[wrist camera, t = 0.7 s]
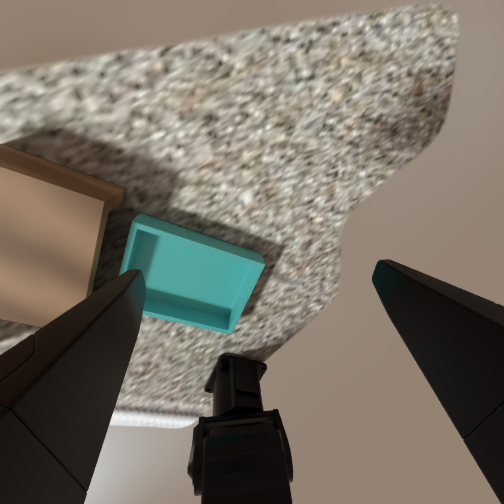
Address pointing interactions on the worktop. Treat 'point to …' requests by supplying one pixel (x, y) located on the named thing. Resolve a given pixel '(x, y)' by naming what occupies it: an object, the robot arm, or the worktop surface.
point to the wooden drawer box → (48, 235)
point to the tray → (191, 274)
